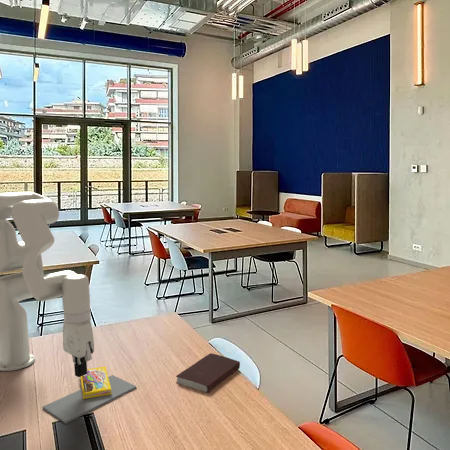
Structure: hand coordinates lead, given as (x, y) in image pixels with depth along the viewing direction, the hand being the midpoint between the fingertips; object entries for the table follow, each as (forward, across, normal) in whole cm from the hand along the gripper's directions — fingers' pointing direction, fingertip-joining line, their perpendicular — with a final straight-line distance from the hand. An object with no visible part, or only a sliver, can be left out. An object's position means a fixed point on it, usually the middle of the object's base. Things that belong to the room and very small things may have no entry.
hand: (81, 374), depth 131 cm
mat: (+6, +5, 0) cm, 8 cm away
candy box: (+4, -2, +1) cm, 5 cm away
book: (+7, +23, +32) cm, 40 cm away
